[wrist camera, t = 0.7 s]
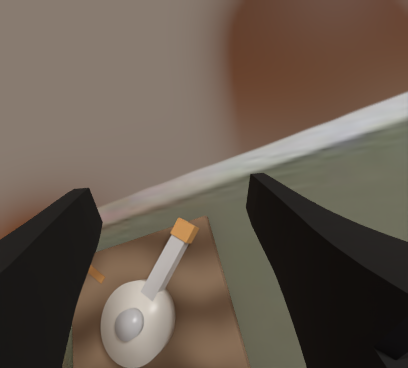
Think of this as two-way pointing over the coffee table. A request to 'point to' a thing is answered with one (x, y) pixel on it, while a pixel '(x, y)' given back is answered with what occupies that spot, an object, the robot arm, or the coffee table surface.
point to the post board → (182, 298)
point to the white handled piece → (145, 307)
